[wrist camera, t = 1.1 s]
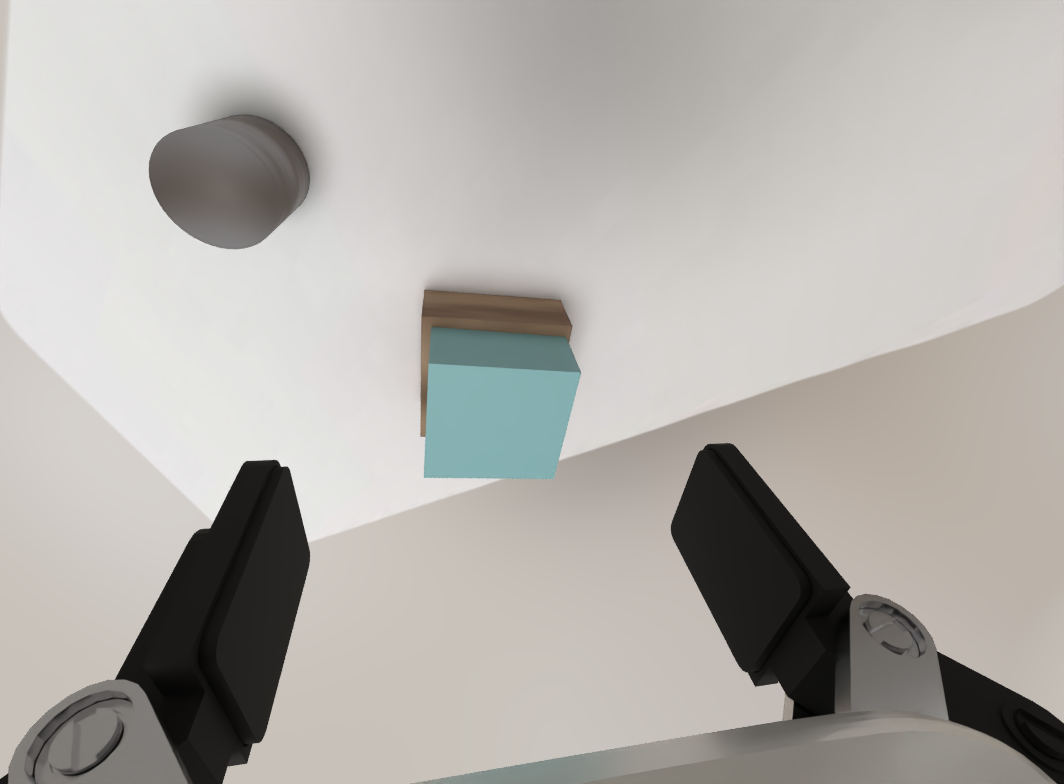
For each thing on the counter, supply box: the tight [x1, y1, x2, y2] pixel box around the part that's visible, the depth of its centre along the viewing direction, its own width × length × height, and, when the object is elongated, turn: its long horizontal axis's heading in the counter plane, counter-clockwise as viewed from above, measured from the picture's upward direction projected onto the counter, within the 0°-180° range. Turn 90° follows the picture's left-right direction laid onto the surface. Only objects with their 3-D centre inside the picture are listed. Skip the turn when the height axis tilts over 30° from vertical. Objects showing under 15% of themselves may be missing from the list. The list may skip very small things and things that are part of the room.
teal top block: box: [424, 327, 581, 479], centre depth 35 cm, size 10×10×5 cm
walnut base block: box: [420, 290, 572, 437], centre depth 39 cm, size 11×11×5 cm
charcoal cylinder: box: [149, 115, 310, 249], centre depth 27 cm, size 6×6×7 cm
